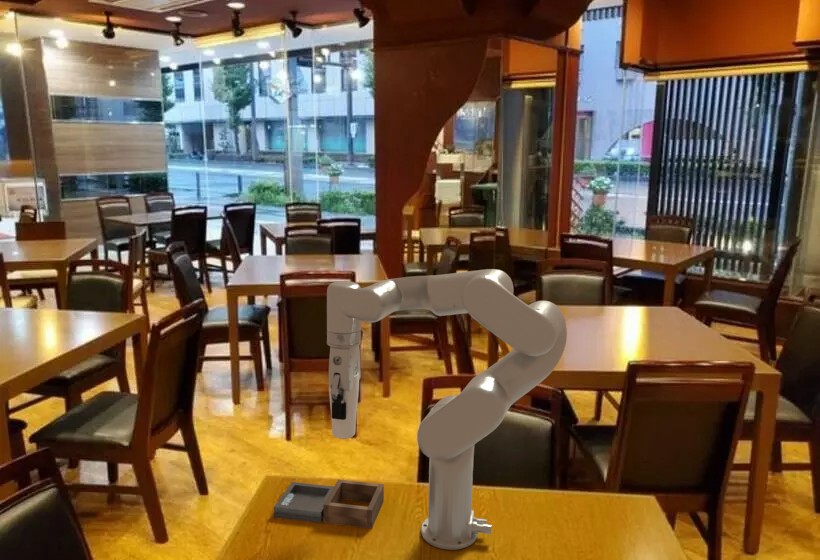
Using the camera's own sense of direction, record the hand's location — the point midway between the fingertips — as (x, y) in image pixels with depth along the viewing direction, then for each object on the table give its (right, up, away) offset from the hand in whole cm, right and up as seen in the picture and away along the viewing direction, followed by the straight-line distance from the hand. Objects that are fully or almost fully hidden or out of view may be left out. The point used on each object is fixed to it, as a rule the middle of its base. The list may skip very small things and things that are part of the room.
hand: (343, 411), depth 141 cm
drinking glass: (0, -6, +1) cm, 6 cm away
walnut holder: (+2, -24, +4) cm, 25 cm away
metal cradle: (-10, -24, +7) cm, 27 cm away
